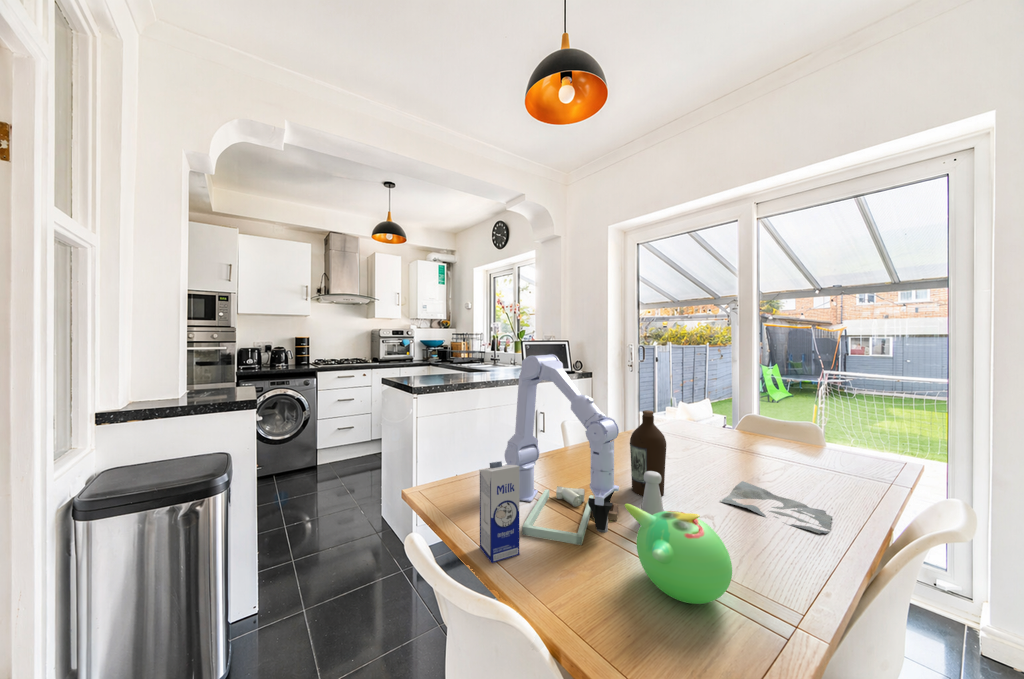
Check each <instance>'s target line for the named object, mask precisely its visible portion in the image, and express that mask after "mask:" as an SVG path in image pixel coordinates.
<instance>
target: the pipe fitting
mask: <svg viewBox="0 0 1024 679" xmlns="http://www.w3.org/2000/svg"><path fill="white" fill-rule="evenodd" d="M585 490H586V489H584V488H571V487H563V486H556V492H555V493H556V496H555V498H556V499H558V500H564V501H566V502H567V503H569V505H571V506H573V507H574V508H575V507H579V506H580V505H582V502H583V503H584V502H585V497H586V496H585V495H586V494H585V492H586V491H585Z"/></svg>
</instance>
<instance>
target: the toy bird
mask: <svg viewBox="0 0 1024 679" xmlns="http://www.w3.org/2000/svg"><path fill="white" fill-rule="evenodd" d="M624 507H625V509H626V510H627V512H628V513H629V515H631V516H632V518H633V519H635V521H636V522H637V523H638V524H639V525H640V527H639V529H638V531H637V534H636V541H635V542H636V551H637V556H638V559H639V563H640V565H641V566H642V569H643V570H644V572H645V574H646V576H647V577H648V578H649V580H650V581H651V582H652V583H653V584H654V585H655V586H656V588H658V589H659V590H660V591H662V593H664V594H666V595H667V596H669V598H670V597H671V598H673V599H675V600H677V601H680V602H682V603H686V604H691V605H692V604H693V605H696V604H697V605H703V604H709V603H712V602H714V601H716V600H718V599H719V598H721V597H722V596H723V595H724V594H725V593H726V592H727V590H728V588H729V587H730V585H731V581H732V577H733V565H732V559H731V556H730V554H729V551H728V549H727V547H726V545H725V543H724V542H723V540H722V538H721V537H720V535H719V534H718V533H717V532H716V531H715V530H714V529H713V528H712V527H711V526H710V525H708V523H706V522H705V521H703V520H701V519H700V517H701V515H700V514H698V513H692V512H690V513H689V512H684V511H683V512H682V511H678V510H664V511H663V512H658V513H656V514H653V515H651V514H649V513H647V512H645V511H643V510H641V508H639V507H638V506H635V505H633V504H631V503H625V504H624Z"/></svg>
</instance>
